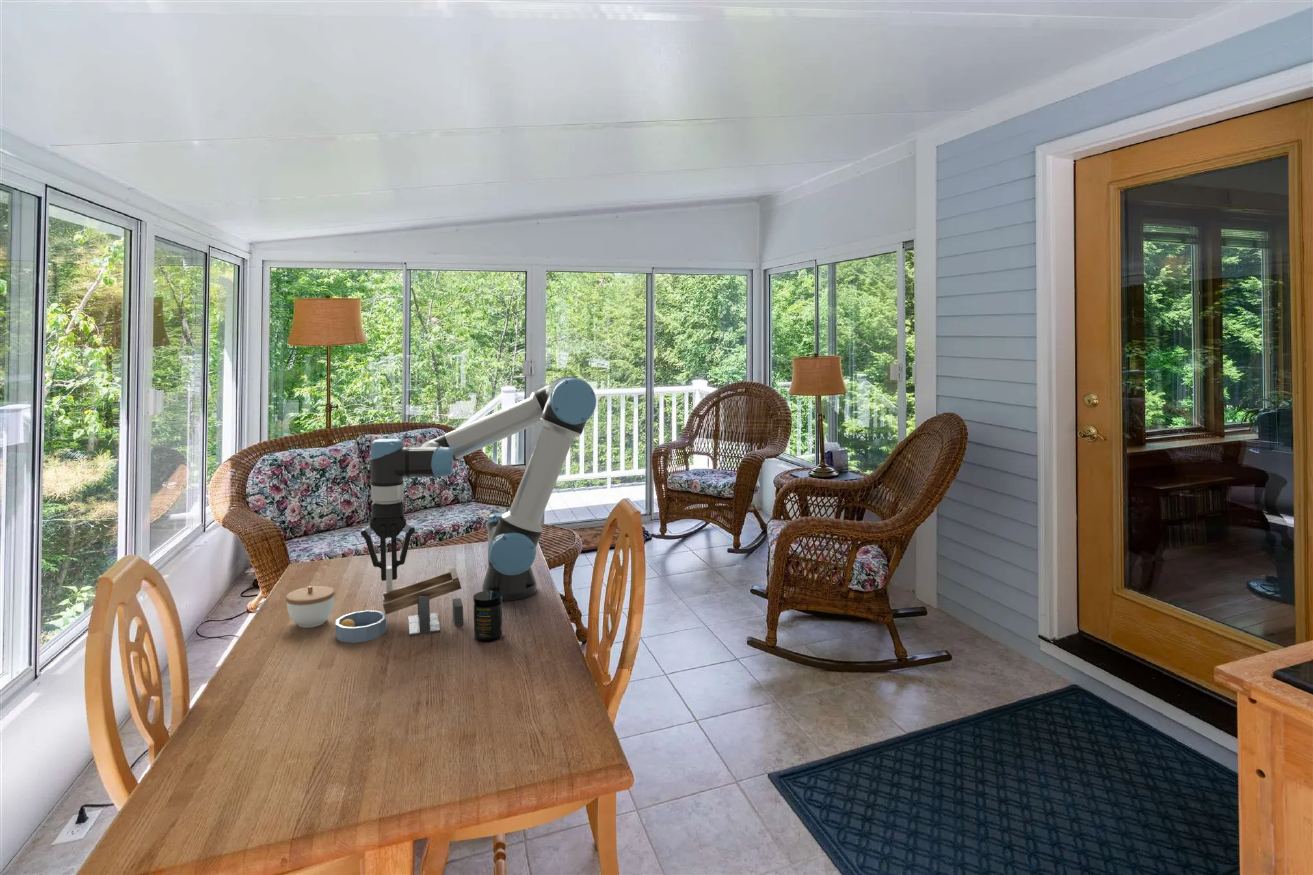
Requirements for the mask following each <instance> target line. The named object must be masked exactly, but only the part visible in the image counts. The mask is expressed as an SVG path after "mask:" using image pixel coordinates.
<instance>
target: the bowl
mask: <svg viewBox="0 0 1313 875" xmlns="http://www.w3.org/2000/svg"><path fill="white" fill-rule="evenodd" d="M346 619H351V620H353V621H354V623H355V627H345V626H342V625H341V623H342V621H344V620H346ZM334 626H335V639H336V640H338V641H340V642H341V643H349V644H350V643H352V644H354V643H356V644H357V643H362V642H363V643H364V642H368V641H371V640H375V639H378V638H380V637H382V636H383V635H384V634H385V633H387V614H386V613H385V612H382V611H381V610H373V609H372V610H370V609H369V610H359V611H354V612H351V613H347V614H344V615H342V616H340V617H338V618H337V619H336V620H335V625H334Z"/></svg>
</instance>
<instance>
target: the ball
mask: <svg viewBox="0 0 1313 875" xmlns="http://www.w3.org/2000/svg"><path fill="white" fill-rule="evenodd" d="M341 625H342V626H345V627H355V623H354V621H353V620H351V619H346V620H344V621H342V623H341Z"/></svg>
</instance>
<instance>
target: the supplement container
mask: <svg viewBox="0 0 1313 875" xmlns="http://www.w3.org/2000/svg"><path fill="white" fill-rule="evenodd" d="M472 598H473V599H472V604H473V637H474V639H475V641H477V642H479V643H492V642H495V641H498V640H500V639H501V638H502V637H503V631H504V629H503V627H504V626H503V601H502V593H501V592H498V591H482V590H481V591H478V592H476V593H474V594H473V595H472Z"/></svg>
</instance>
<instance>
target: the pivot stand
mask: <svg viewBox="0 0 1313 875" xmlns="http://www.w3.org/2000/svg"><path fill="white" fill-rule="evenodd" d="M430 606H431V605H430V600H429V595H420V596H419V603H418V604H417V614H413V615H408V616H407V618H408V631H409V637H413V636H421V635H430V634H431V635H432V634H437V633H441V626H440V622H439V616H438V612H430V611H431V610H430Z"/></svg>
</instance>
